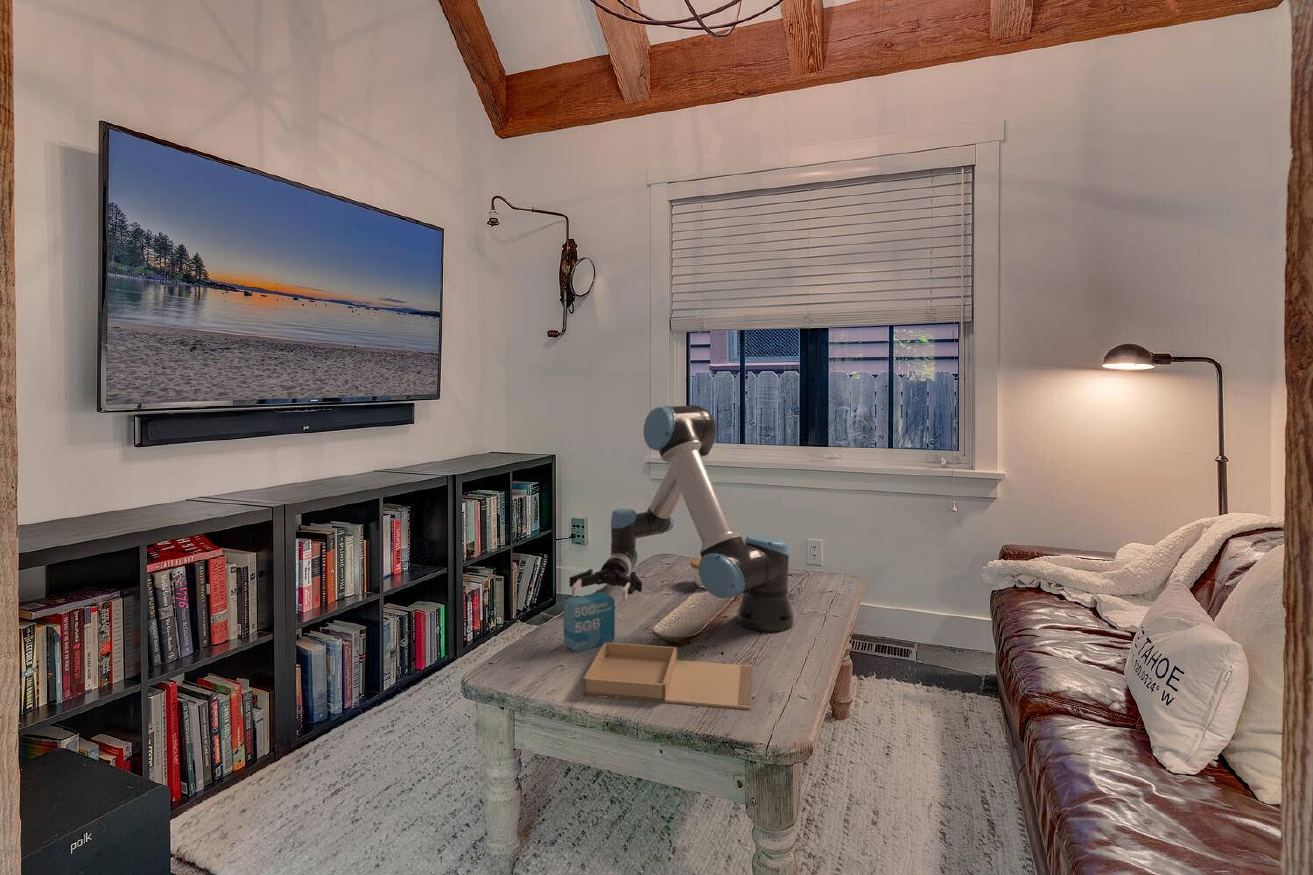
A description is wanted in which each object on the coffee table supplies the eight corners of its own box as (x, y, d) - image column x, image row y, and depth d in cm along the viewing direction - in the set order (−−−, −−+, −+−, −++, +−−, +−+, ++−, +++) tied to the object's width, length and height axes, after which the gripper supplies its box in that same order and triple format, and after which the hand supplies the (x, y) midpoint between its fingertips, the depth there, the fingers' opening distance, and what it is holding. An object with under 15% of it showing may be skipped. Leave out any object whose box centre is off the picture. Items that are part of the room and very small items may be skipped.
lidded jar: (701, 593, 203) (701, 563, 202) (684, 583, 213) (684, 554, 212) (730, 588, 208) (731, 558, 207) (712, 578, 218) (712, 550, 217)
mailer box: (751, 667, 152) (751, 652, 151) (750, 709, 133) (750, 692, 132) (604, 656, 157) (604, 642, 157) (583, 695, 138) (583, 678, 138)
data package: (571, 653, 159) (571, 604, 158) (563, 646, 163) (563, 599, 161) (615, 642, 166) (615, 595, 164) (606, 636, 169) (606, 590, 168)
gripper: (657, 584, 193) (645, 611, 172) (574, 579, 197) (552, 604, 176) (658, 559, 192) (645, 582, 171) (575, 554, 196) (552, 576, 175)
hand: (598, 593), depth 174 cm, fingers open, 13 cm apart
